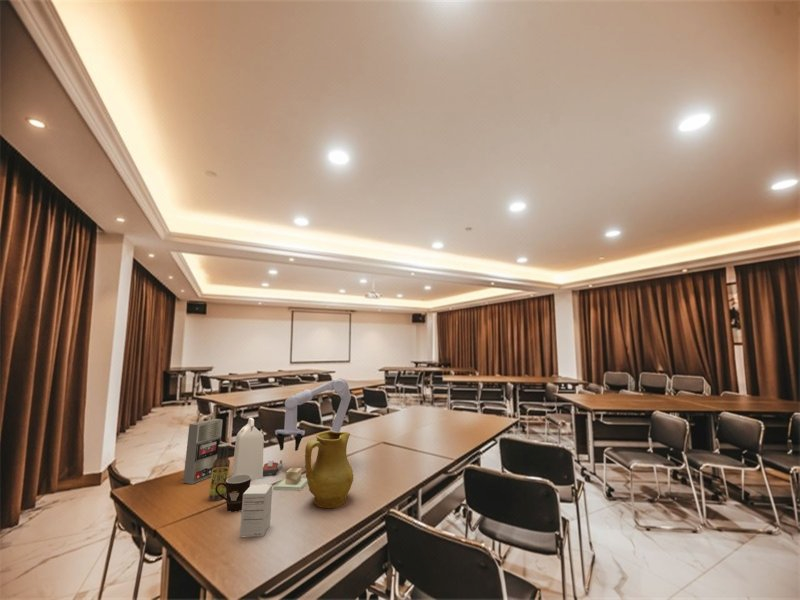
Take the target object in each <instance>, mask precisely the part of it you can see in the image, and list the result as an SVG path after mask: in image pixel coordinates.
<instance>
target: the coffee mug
mask: <svg viewBox="0 0 800 600" xmlns="http://www.w3.org/2000/svg"><path fill="white" fill-rule="evenodd" d="M251 482H252V480H251V476H250V475H237V476H233V477H232V476H230V477H228V479H227V480H226V484H225V483H220V484H218V485H217V486H216V488H215V491H216V493H217V494H218V495H219V496H220V497H222V498H223V499H222V500H225V501H226V511H227V512H228V511H231V512H230V513H235V511H237V512H240V511H242V501H243V494H244V492H245V491H246V490H247V489H248V488H249V487H250V486H251ZM219 485H224V486H225V487H226V496H225V497H224V496H222V495H221V494H219V492H218V491H217V487H218V486H219ZM239 510H240V511H239Z"/></svg>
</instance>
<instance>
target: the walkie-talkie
mask: <svg viewBox="0 0 800 600" xmlns="http://www.w3.org/2000/svg"><path fill="white" fill-rule="evenodd" d="M282 468H283V460H282V459H281V460H280V461H279V463H278V462H275V461H274V460H268V462H267V463H263V478H264V477H275V476H276V475H278V472H280V471H282Z"/></svg>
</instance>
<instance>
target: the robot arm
mask: <svg viewBox="0 0 800 600" xmlns="http://www.w3.org/2000/svg"><path fill="white" fill-rule="evenodd" d="M326 391H331V392H333V391H335V393H337V394H338V396H339V397H340V398H339V399H340V402H339V406H338V408H337V412H336V414H335V417H334V420H333V423H332V426H331V429H330V431H333V432H341V429H342V426H343V423H344V420H345V417H346V414H347V411H348V408H349V404H350V402H351V399H352V396H351V392H350V387H349V384H348V382H347V381H346V380H345V379H344V378H337V379H334V380H330V381H327V382H326V383H323V384H321V385H319V386H317V387H316V388H313V389H311V390H310V389H308V388H307V389H305V388H304V389H302V391H301V392H298V393H294V394H293V395H292V396H288V398H286V399H285V401H284V406H285V413H284V426H283V427H284V429H276V430H275V431H274V432H275V435H276V436H275V438H276V440H277V443H278V446H279V451H284V447H285V438H286V435H290V436H294V439H295V441H294V443H295V445H294V451H295V452H296V451H297V452H298V450H299V447H300V445H301V441H302V439H303V437H304V436H305V434H306V430H304V429H297V424H298V423H297V422H298V420H297V419H298V406H301V405H303V404H305V403H308V402H310V401H312V399H313V397H314V396H316V395H319V394H321V393H323V392H326Z"/></svg>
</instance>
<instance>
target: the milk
mask: <svg viewBox="0 0 800 600" xmlns="http://www.w3.org/2000/svg"><path fill="white" fill-rule="evenodd" d="M235 437H236V438H235V444H234V445H235V446H234V453H233V459H232V460H233V462H232V469H231V470H232V471H231V477H233V476H237V475H250V476H251V481H256V480H261V479H263V478H264V477H263V467H264V446H265V445H264V443H265V442H264V441H265V440H264V439H265V438H264V434H263V433H262V432H261V431H260V430H258V428H257V427H255V419H254V418H253V417H249V418H248V421H247V424H245V425H244V426H243V427H242V428H241V429H240V430H239V431H238V432H237V434H236V436H235Z"/></svg>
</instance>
